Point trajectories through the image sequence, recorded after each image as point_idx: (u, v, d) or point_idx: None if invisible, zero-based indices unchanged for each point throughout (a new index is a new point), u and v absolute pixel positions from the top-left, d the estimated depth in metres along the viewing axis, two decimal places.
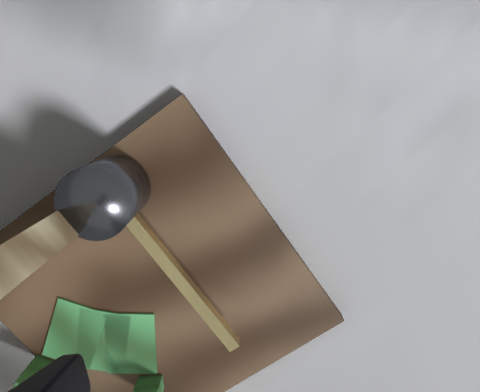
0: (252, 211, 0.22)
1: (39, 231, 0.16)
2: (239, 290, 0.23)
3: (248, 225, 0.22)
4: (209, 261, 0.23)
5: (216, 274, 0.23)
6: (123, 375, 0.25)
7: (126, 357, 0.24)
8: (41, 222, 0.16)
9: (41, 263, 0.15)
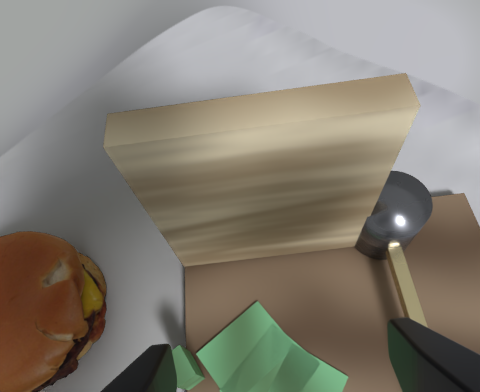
0: None
1: None
2: None
3: None
4: None
5: None
6: None
7: None
8: None
9: (385, 179, 0.16)
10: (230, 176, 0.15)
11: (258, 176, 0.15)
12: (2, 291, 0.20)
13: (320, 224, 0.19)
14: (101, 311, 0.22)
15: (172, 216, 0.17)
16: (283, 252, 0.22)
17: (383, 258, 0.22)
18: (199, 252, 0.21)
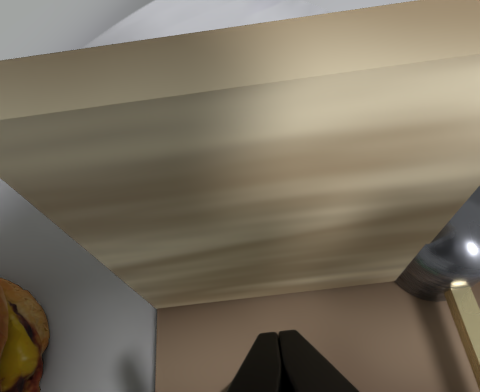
0: None
1: None
2: None
3: None
4: None
5: None
6: None
7: None
8: None
9: None
10: (210, 185, 0.08)
11: (261, 184, 0.08)
12: None
13: (352, 256, 0.13)
14: (35, 375, 0.15)
15: (122, 248, 0.11)
16: (295, 290, 0.16)
17: (438, 299, 0.15)
18: (174, 292, 0.15)
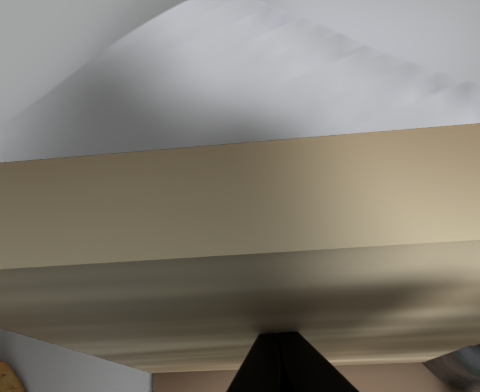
0: None
1: None
2: None
3: None
4: None
5: None
6: None
7: None
8: None
9: None
10: (215, 314, 0.06)
11: (278, 315, 0.07)
12: None
13: (380, 350, 0.11)
14: None
15: (107, 346, 0.09)
16: None
17: (474, 391, 0.13)
18: (171, 366, 0.13)
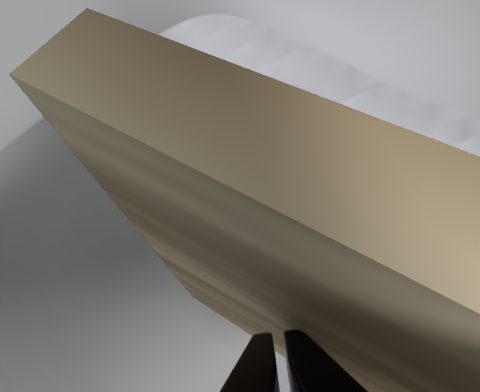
0: None
1: None
2: None
3: None
4: None
5: None
6: None
7: None
8: None
9: None
10: (275, 284, 0.06)
11: (336, 325, 0.06)
12: None
13: None
14: None
15: (171, 252, 0.09)
16: None
17: None
18: (211, 303, 0.13)
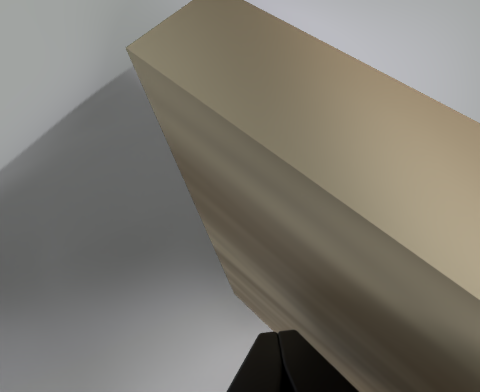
0: None
1: None
2: None
3: None
4: None
5: None
6: None
7: None
8: None
9: None
10: (361, 322, 0.05)
11: (426, 384, 0.05)
12: None
13: None
14: None
15: (232, 252, 0.09)
16: None
17: None
18: (255, 305, 0.13)
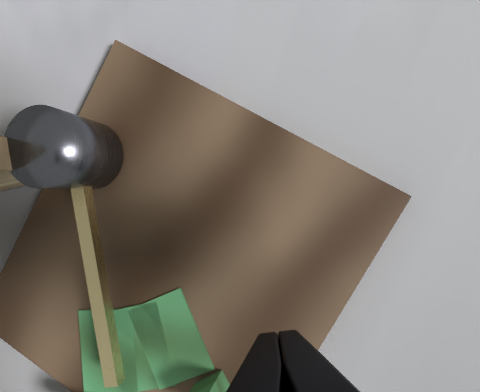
0: (231, 115, 0.19)
1: None
2: (261, 215, 0.18)
3: (234, 133, 0.19)
4: (211, 195, 0.19)
5: (226, 207, 0.19)
6: (178, 387, 0.19)
7: (171, 359, 0.19)
8: None
9: None
10: None
11: None
12: None
13: None
14: None
15: None
16: None
17: (91, 189, 0.20)
18: None
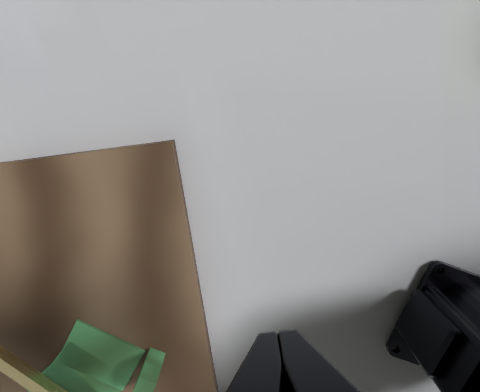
0: (1, 176, 0.20)
1: None
2: (86, 230, 0.21)
3: (15, 187, 0.20)
4: (40, 242, 0.21)
5: (58, 243, 0.21)
6: (133, 380, 0.23)
7: (112, 367, 0.23)
8: None
9: None
10: None
11: None
12: None
13: None
14: None
15: None
16: None
17: None
18: None
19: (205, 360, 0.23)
